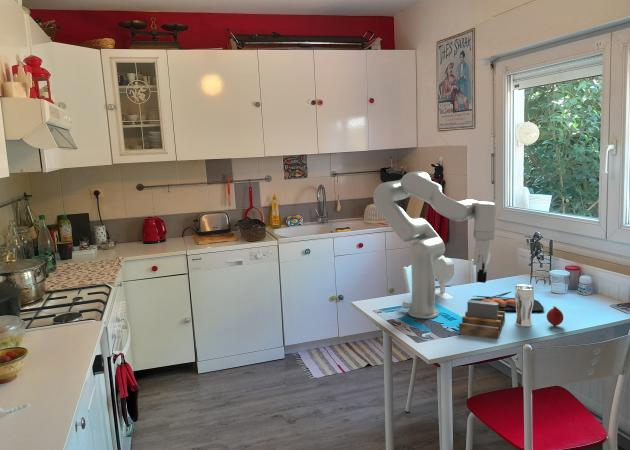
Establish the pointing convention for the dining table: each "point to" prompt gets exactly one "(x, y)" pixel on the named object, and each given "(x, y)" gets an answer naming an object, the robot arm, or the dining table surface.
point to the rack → (482, 326)
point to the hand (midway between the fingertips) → (481, 281)
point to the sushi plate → (508, 302)
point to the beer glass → (524, 304)
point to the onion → (555, 316)
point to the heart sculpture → (443, 274)
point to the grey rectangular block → (482, 309)
